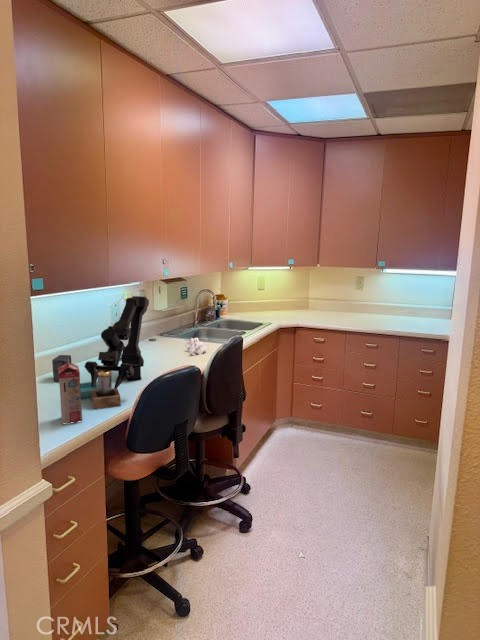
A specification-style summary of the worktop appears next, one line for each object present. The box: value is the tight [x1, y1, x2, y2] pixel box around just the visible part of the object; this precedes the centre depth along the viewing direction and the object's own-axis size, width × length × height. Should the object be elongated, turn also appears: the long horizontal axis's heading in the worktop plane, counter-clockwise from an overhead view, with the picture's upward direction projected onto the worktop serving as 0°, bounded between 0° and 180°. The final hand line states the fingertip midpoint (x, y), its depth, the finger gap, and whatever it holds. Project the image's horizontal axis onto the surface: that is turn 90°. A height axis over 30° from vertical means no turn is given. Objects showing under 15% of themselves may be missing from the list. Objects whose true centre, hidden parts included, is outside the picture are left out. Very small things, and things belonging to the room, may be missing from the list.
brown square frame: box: [90, 387, 122, 410], centre depth 170 cm, size 10×10×4 cm
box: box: [51, 354, 72, 383], centre depth 195 cm, size 8×6×11 cm
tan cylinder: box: [97, 369, 113, 397], centre depth 169 cm, size 5×5×13 cm
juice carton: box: [58, 358, 83, 425], centre depth 152 cm, size 7×7×22 cm
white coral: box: [183, 337, 208, 356], centre depth 244 cm, size 12×9×10 cm
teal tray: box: [80, 380, 99, 400], centre depth 179 cm, size 11×11×3 cm
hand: (103, 388), depth 168 cm, fingers open, 9 cm apart
